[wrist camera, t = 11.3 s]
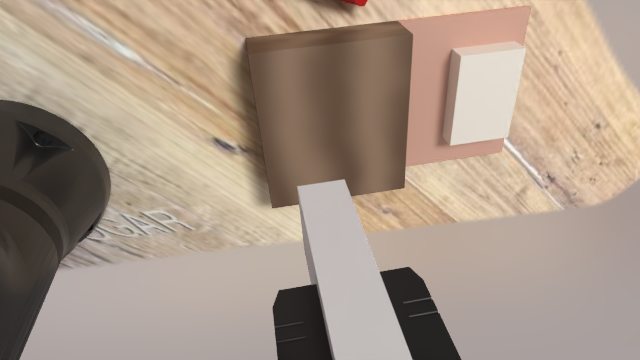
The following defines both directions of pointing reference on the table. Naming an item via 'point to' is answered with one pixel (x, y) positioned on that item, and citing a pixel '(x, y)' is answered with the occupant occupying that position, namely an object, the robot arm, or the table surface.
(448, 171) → the table surface
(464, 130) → the tile
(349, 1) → the candy bar
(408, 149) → the mat
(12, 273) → the robot arm
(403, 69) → the serving board
